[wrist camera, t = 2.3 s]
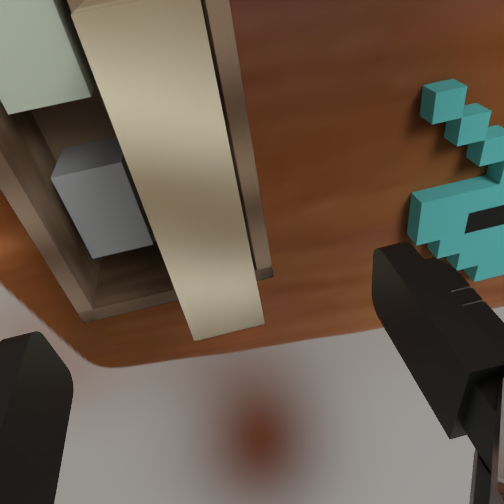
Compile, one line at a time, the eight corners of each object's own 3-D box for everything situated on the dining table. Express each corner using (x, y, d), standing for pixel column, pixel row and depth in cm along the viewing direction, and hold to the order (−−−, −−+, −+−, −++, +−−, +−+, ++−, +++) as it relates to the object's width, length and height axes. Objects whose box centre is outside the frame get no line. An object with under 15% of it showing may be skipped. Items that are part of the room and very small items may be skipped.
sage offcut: (-41, -69, 19) (-90, -69, 15) (44, -86, 19) (17, -89, 16) (32, 84, 24) (8, 114, 20) (101, 69, 24) (91, 96, 20)
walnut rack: (-123, -164, 18) (-245, -205, 12) (175, -217, 18) (184, -278, 13) (95, 258, 33) (83, 323, 27) (254, 220, 33) (273, 277, 28)
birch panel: (116, -33, 21) (70, 14, 9) (173, -44, 21) (198, -12, 10) (177, 174, 29) (194, 341, 17) (220, 164, 29) (264, 323, 17)
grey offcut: (62, 148, 26) (50, 178, 23) (125, 134, 26) (121, 162, 23) (99, 224, 30) (92, 258, 27) (153, 212, 30) (153, 244, 27)
